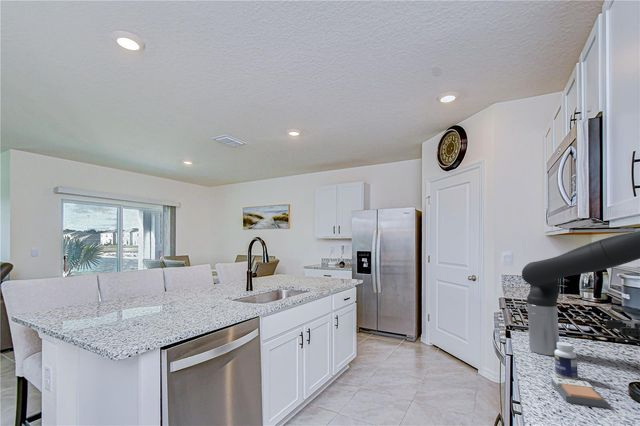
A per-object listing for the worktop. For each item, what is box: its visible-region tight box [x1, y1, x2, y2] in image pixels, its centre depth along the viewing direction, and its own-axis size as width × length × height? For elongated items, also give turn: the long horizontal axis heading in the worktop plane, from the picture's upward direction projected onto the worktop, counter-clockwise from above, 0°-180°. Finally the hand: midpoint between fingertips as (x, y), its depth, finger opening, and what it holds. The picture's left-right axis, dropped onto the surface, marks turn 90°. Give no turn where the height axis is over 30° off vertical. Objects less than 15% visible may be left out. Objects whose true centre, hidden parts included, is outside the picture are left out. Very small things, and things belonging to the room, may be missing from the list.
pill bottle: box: [554, 341, 579, 381], centre depth 97 cm, size 5×5×10 cm
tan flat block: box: [550, 377, 609, 409], centre depth 85 cm, size 11×8×2 cm
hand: (613, 327), depth 94 cm, fingers open, 8 cm apart
